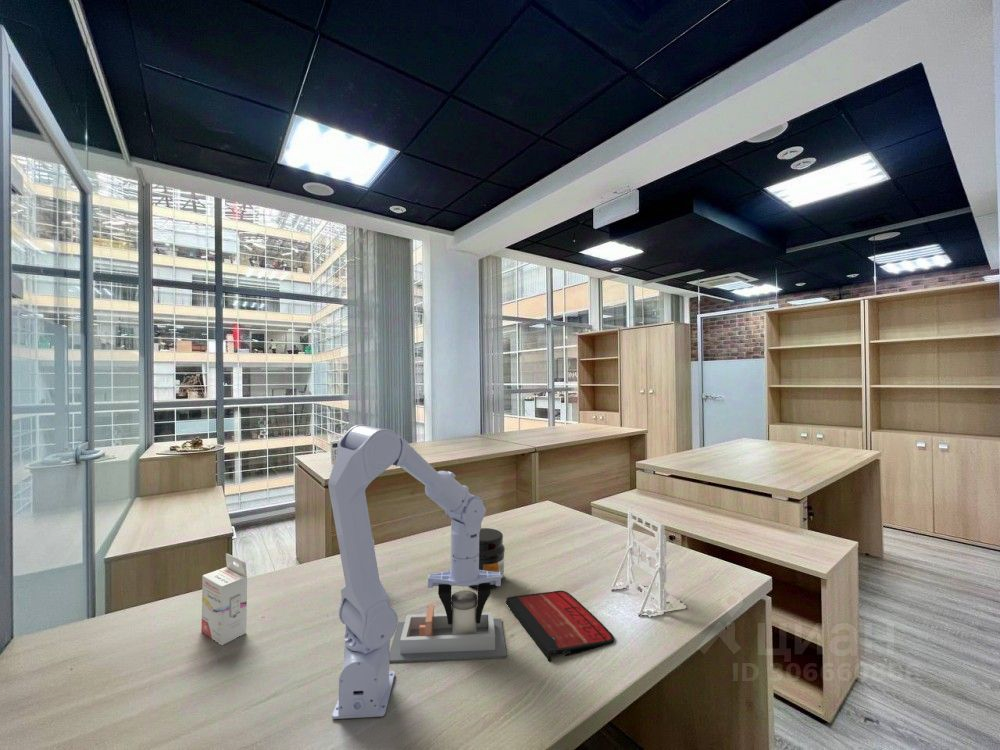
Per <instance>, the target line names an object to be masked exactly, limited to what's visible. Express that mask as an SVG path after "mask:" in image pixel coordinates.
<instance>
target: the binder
mask: <svg viewBox="0 0 1000 750" xmlns="http://www.w3.org/2000/svg"><path fill="white" fill-rule="evenodd" d="M506 604H507V605H508V607H509V608H510V609H509V608H508V607H507V608H508V609H509V610H510V612H511V611H512V612H511V614H512V615H513V614H514V615H513V616H514V617H515V619H517V621H518V623H519V624H520V625H521V627H522V628H523V629H524V631H525V632H526V633H527V634H528V636H529V638H531V640H533V642H534V643H535V645H536V646H537V648H538V649H539V650H540V651H541V653H542V654H543V655H544V657H545V658H546V660H547V662H551V653H556V654H563V653H565V652H567V653H566V654H565V655H564V657H570V656H574V655H577V654H581V653H585V652H587V651H588V652H589V651H593V650H596V649H599V648H602V647H605V646H608V645H612V644H613V643H615V636H614V635H613V633H612V632H611V631H610V630H609V629H608V628H607V627H606V625H604V624H603V623H602V621H600V620H599V619H598V618H597V617H596V616H595V615H594V614H593V613H592V612H591V611H589V609H588V608H586V607H585V606H584V605H583V604H582V603H581V602H580V601H579V600H578V599H576V598H575V597H574V596H573V595H572V594H571V593H570V592H568V591H565V590H554V591H546V592H538V593H537V592H535V593H529V594H521V595H514V596H508V597H506V598H505V605H506ZM507 605H506V606H507Z"/></svg>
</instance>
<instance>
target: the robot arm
mask: <svg viewBox="0 0 1000 750" xmlns="http://www.w3.org/2000/svg"><path fill="white" fill-rule="evenodd" d="M391 466H395V467H400V468H401V469H403V470H404V471H405V472H407V474H409V475H410V476H412V477H413V478H414V479H416V480H417V481H419V482H420V483H421V484H423V485H424V492H425V495H426V497H427V498H429V499H430V500H431V501H433V502H434V503H436V505H437V506H439V507H440V508H441V509H442V510H444V513H445V515H446V517H448V518H451V519H450V570H446V571H441V572H436V573H429V574H428V577H427V589H433V588H434V587H438V591H437V595H438V598H439V599H440V601H441V603H442V605H443V608H444V610H445V613H446V615H447V619H448V624H452V604H451V597H452V587H453V586H457V587H472V586H471V585H478V588H477V623H480V619H481V614H482V612H484V607H485V605H486V602H487V600H488V599H489V597H490V595H491V588H490V585H492V584H495V586H496V587H502V586H501V584H502V583H501V574H500V572H491V571H484V570H479V532H480V529H481V528H482V522H483V520H484V518H485V516H486V513H487V508H486V507H485V505H484V501H483V500H482V498H481V497H479V496H477V495H474V494H472V493H470V488H469V487H468V486H467V485H463V484H461V483H460V482H459V481H458V480H457V479H456V476H457V475H456V474H455V473H454V472H452V471H446V470H438V471H437V470H436V469H435V468H434V467H433V466H432V465H431V464H429V462H428V461H427V460H426V459H424V457H422V456H421V454H419V452H417V450H416V449H415V448H413V447H412V446H411V445H410V443H409V442H408V441H407V440H406V439H405V438H403V437H402V436H399V435H398V434H397V432H395V431H394V430H392V429H389V428H378V427H374V426H370V425H367V424H364V423H363V424H356V425H354V426H352V427H350V428H349V429H348V430H347V431H346V432H345V434H344V435H343V436H342V437H341V438H340V439H339V440H338V441H337V454H336V457H335V460H334V463H333V466H332V469H331V473H330V475H329V478H328V482H327V483H328V491H329V498H330V503H331V510H332V515H333V521H334V526H335V527H334V528H335V533H336V537H337V538H336V539H337V544H338V548H339V555H340V561H341V566H342V571H343V572H342V573H343V577H344V586H343V587H342V588H341V589H340V594H341V599H340V600H341V602H340V606H339V607H338V608H339V609H338V618H339V619H340V621H341V623H342V624H343V625H345V633H344V651H343V652H344V656H343V657H344V659H343V660H344V661H343V666H342V669H341V672H340V674H339V676H338V677H339V678H338V699H337V702H336V704H335V706H334V709H333V711H332V713H331V718H332V719H333V720H338V719H340V720H341V719H342V720H343V719H355V718H357V719H358V718H359V719H361V718H374V717H375V718H376V717H377V718H378V717H379V718H380V717H384V716H385V714H386V711H387V707H388V703H389V700H390V695H391V692H392V688H393V682H394V679H395V676H396V671H394V670H390V663H389V659H390V649H391V646H390V644H391V639H392V638H393V636H395V632H396V629H397V625H398V622H399V617H398V614H397V612H396V610H395V609H394V608H393V607H392V605H391V602H390V598H389V596H388V595H389V594H388V593H387V591H386V589H385V588H384V585H383V584H382V582H381V580H380V579H381V578H380V575H379V568H378V562H377V557H376V551H375V550H376V549H375V545H374V543H373V540H374V537H373V533H372V525H371V521H370V515H369V513H370V512H369V509H368V503H367V496H366V495H367V494H366V489H367V488H368V486H369V485H370V484H371V483H372V481H374V480H375V479H376V478H378V476H380V475H381V474H383V473H384V472H385V471H386V470H387V469H389V468H390V467H391ZM345 584H346V585H345Z"/></svg>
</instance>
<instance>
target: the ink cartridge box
mask: <svg viewBox="0 0 1000 750" xmlns="http://www.w3.org/2000/svg"><path fill="white" fill-rule="evenodd" d="M225 561H226V566H225V567H221V568H220V569H217V570H214V571H211V572H208V573H205V574H202V578H201V579H202V588H201V589H202V592H201V593H202V594H201V631H200V632H201V633H202V634H204V635H206V636H207V637H209V638H210V639H211V640H213V641H214V640H215V641H214V642H216V643H217V642H218V644H219V645H221V646H224V645H226V644H228V643H230V642H232V641H233V640H235V639H238V638H239V636H240V637H241V636H243V635H245V634H247V615H248V614H247V611H248V609H247V607H248V606H247V605H248V576H247V564H246V561H244V560H242V559H240V558H238V557H236V556H234V555H233V554H232V555H231V554H229V553H228V552H227V553H225ZM234 563H236V564H237V565H236V564H234ZM237 637H238V638H237Z"/></svg>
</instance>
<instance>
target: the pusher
mask: <svg viewBox="0 0 1000 750" xmlns="http://www.w3.org/2000/svg"><path fill="white" fill-rule="evenodd" d="M426 614H427V615H426V620H425V625H420V627H419V636H433V631H434V614H435V604H428V605H427V609H426Z"/></svg>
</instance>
